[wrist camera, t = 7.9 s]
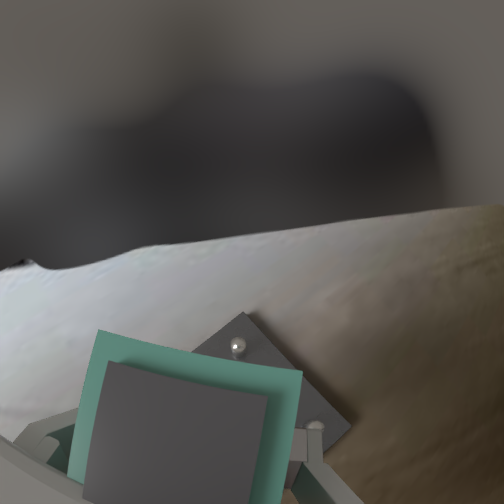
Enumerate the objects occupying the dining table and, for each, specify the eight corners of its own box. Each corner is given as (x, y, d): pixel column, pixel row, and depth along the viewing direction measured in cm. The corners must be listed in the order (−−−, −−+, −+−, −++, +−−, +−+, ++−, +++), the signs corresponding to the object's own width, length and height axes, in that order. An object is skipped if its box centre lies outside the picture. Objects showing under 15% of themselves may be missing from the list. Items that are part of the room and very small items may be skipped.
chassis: (243, 315, 29) (242, 301, 26) (347, 425, 24) (361, 426, 21) (125, 405, 25) (108, 403, 21) (225, 522, 20) (221, 536, 16)
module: (180, 378, 16) (91, 324, 7) (273, 395, 15) (305, 368, 6) (163, 463, 13) (55, 508, 4) (257, 482, 13) (266, 571, 4)
